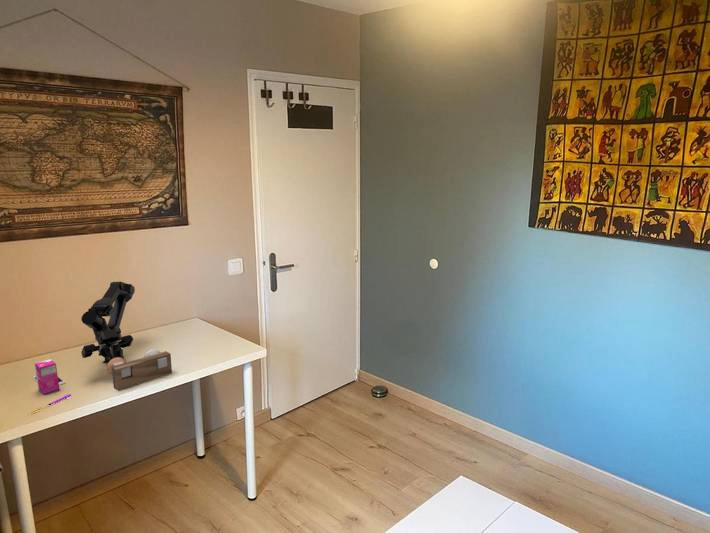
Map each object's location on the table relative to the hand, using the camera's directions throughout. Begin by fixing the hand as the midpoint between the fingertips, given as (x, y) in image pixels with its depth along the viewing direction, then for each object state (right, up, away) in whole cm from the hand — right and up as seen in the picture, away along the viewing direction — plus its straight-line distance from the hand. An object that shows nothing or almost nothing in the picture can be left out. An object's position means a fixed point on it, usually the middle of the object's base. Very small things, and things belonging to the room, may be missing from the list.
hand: (115, 364), depth 201 cm
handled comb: (-13, -12, -19) cm, 26 cm away
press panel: (+11, -7, +1) cm, 13 cm away
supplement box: (-21, -9, -8) cm, 24 cm away
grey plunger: (+15, -3, +7) cm, 16 cm away
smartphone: (-27, -7, 0) cm, 27 cm away
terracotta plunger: (+4, -5, -2) cm, 6 cm away
